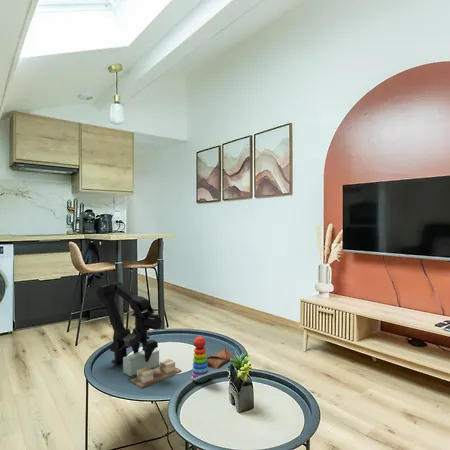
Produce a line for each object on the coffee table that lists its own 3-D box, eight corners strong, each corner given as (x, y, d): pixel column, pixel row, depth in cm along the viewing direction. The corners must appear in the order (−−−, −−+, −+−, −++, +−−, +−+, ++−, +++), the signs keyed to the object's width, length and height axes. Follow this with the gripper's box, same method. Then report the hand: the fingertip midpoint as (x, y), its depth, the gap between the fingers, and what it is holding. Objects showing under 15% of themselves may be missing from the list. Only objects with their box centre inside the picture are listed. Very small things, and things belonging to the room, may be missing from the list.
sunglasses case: (216, 369, 154) (211, 355, 156) (206, 374, 157) (201, 360, 159) (238, 357, 168) (232, 344, 170) (228, 361, 172) (222, 348, 174)
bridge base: (130, 381, 143) (130, 370, 143) (169, 365, 158) (169, 356, 158) (141, 388, 137) (141, 377, 137) (181, 371, 152) (181, 361, 152)
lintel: (123, 372, 152) (123, 357, 152) (151, 361, 164) (151, 347, 164) (130, 376, 148) (130, 361, 148) (159, 364, 160) (159, 350, 160)
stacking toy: (210, 376, 148) (210, 334, 148) (208, 384, 140) (208, 340, 140) (193, 375, 148) (193, 333, 148) (189, 383, 141) (189, 340, 140)
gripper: (115, 325, 156) (115, 358, 156) (137, 335, 143) (137, 370, 144) (136, 320, 164) (136, 351, 164) (158, 329, 152) (158, 362, 152)
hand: (141, 359), depth 156 cm, fingers open, 9 cm apart
